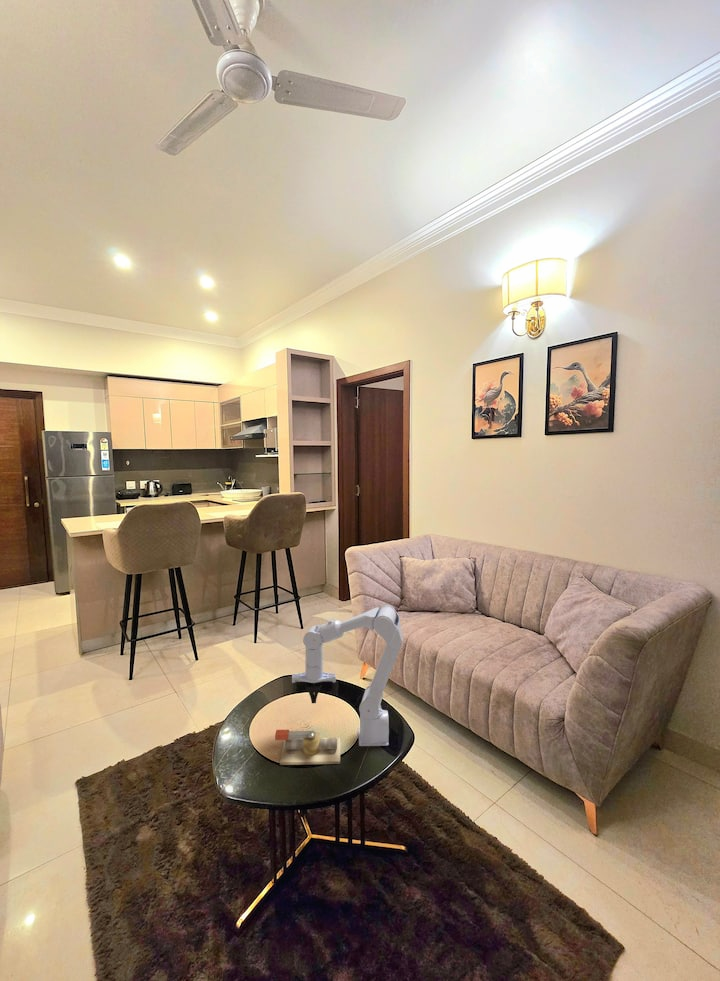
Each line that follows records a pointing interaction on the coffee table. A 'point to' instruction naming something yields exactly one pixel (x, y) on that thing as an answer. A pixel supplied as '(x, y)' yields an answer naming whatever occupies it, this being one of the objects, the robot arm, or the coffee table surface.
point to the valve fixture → (310, 751)
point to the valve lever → (293, 734)
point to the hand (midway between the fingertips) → (313, 701)
